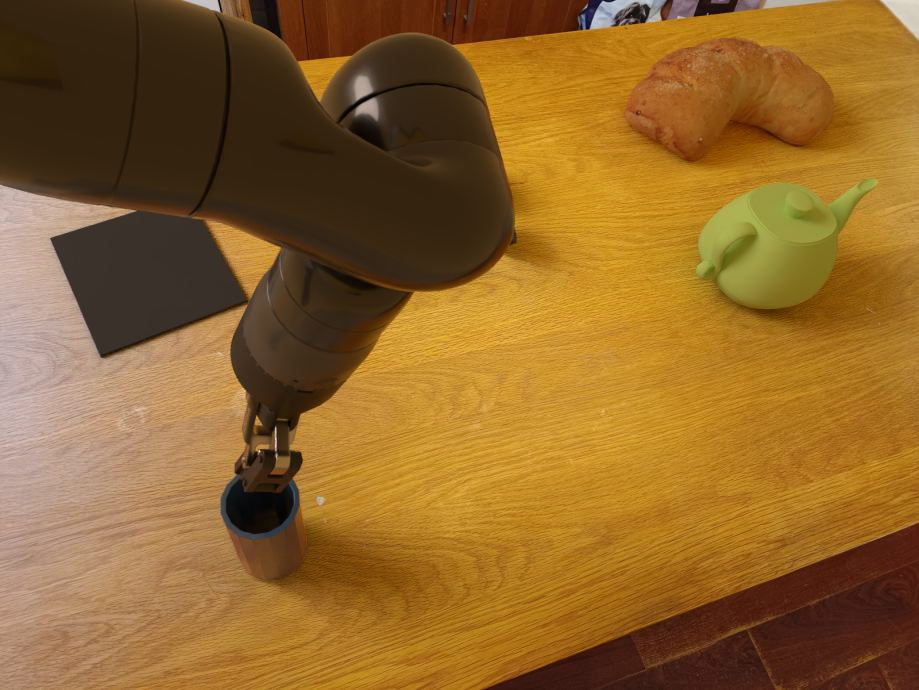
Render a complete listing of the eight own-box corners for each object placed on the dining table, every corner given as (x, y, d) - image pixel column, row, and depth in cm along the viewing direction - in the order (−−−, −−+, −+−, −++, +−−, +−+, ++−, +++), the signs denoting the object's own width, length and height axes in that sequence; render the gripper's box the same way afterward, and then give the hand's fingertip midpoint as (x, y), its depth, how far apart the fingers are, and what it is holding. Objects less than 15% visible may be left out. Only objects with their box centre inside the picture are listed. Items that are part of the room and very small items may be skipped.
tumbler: (255, 594, 65) (238, 553, 56) (228, 535, 68) (208, 487, 59) (318, 559, 67) (312, 515, 58) (290, 504, 70) (280, 453, 61)
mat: (101, 357, 76) (99, 355, 76) (50, 240, 84) (49, 237, 84) (248, 301, 82) (247, 299, 82) (188, 197, 90) (188, 194, 90)
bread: (772, 64, 121) (802, 6, 112) (839, 145, 110) (877, 89, 102) (593, 81, 112) (612, 21, 104) (648, 171, 102) (673, 112, 94)
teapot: (788, 212, 101) (840, 136, 90) (860, 294, 94) (925, 222, 83) (655, 248, 94) (693, 171, 83) (721, 340, 87) (772, 269, 76)
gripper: (247, 218, 45) (203, 328, 58) (240, 440, 40) (194, 508, 53) (362, 238, 49) (297, 338, 62) (372, 446, 43) (297, 509, 56)
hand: (249, 416), depth 57 cm, fingers open, 8 cm apart
